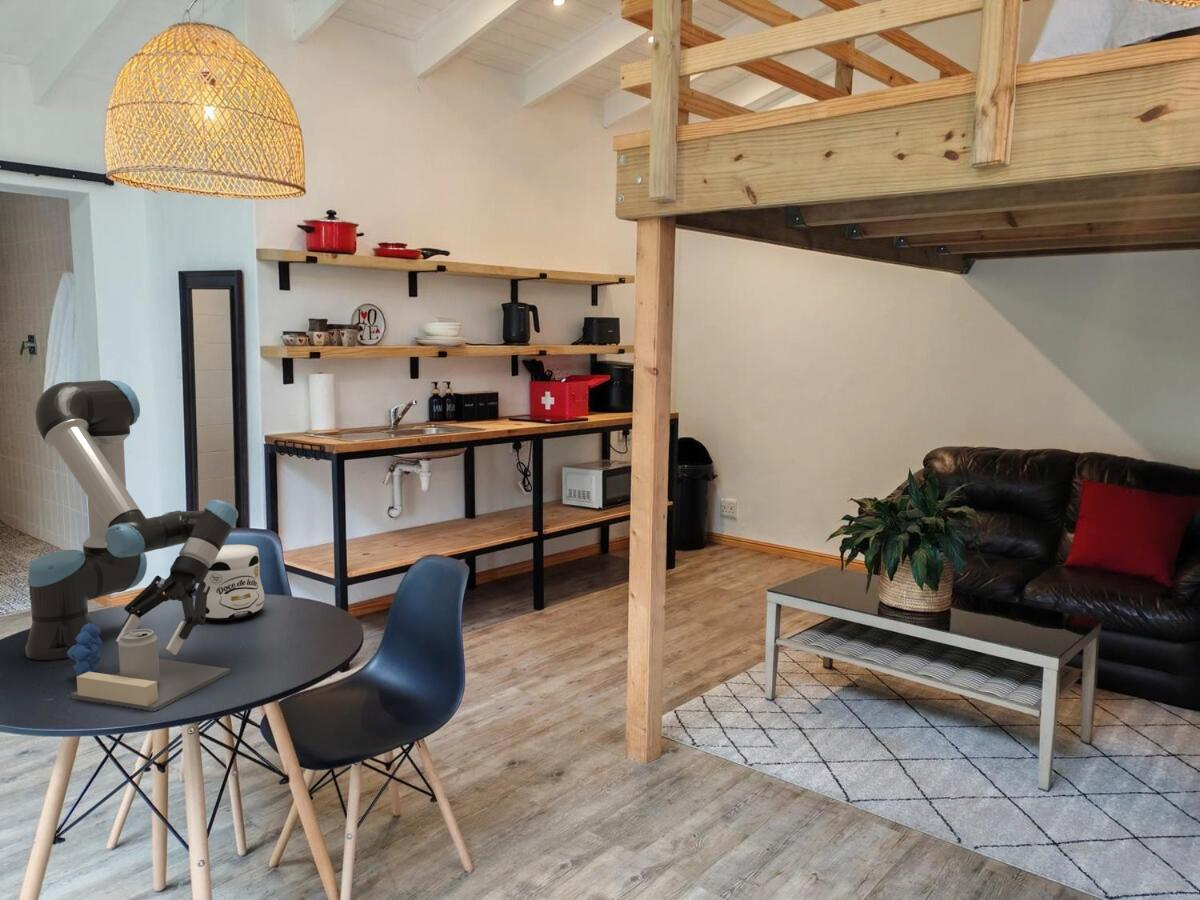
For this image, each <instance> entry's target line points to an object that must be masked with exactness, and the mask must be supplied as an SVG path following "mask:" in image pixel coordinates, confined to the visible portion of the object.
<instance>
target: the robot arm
mask: <svg viewBox="0 0 1200 900" xmlns="http://www.w3.org/2000/svg"><path fill="white" fill-rule="evenodd" d="M140 413H141V405H140V402H139V399H138V396H137V394H136V392H135V391H134V390H133V389H132V387H130V385H128V384H127V383H125V382H123V381H120V380H107V379H105V380H104V379H102V380H101V379H100V380H87V381H73V382H72V381H65V382H60V383H56V384H53V385H52V386H50V387H48V388H47V389H46V390H45V391H44V392H43V393H42V394H41V395H40V397H39V398H38V401H37V404H36V406H35V413H34V414H35V415H34V417H35V424H36V427H37V430H38V432H39V434H40V435H41V437H42V439H43V441H44V442H45V443H46V444H47V445H48V446H50V447H54V448H55V450H56V451H57V453H58V454H59V456H60V457H61V458H62V460H63V462H64V463H65V465H66V467H67V468H68V469H69V471H70V472H71V473H72V476H73V477H74V478H75V480H76V482H77V483H78V484H79V486H80V487H81V489H82V490H83V492H84V494H85V495H86V496H87V497H86V498H87V512H88V513H87V514H88V517H87V518H88V534H89V536H88V537H87V538H86V539H85V540H84V541H83V542H82V548H83V549H82V550H80V549H65V550H61V551H54V552H51V553H47V554H44V555H41V556H39V557H37V558H35V559H34V560H33V561H31V563H30V565H29V566H28V577H27V583H28V585H29V586H28V587H29V598H30V610H31V627H30V630H29V635H28V638H27V641H26V643H25V648H24V649H25V656H26V657H27V658H28V659H31V660H36V661H51V660H52V661H53V660H61V659H67V658H68V659H69V658H70V657H69V656H68V654H67V652H68V650H69V649H70V648H71V647H72V646H74V645H77V644H78V642H77V641H76V637H77V636H78V634H79V633H80V632H81V631H80V630H81V629H82V628H83V626H84V625H85V624H87V623H91V624H93V622H92V619H91V617H90V615H89V605H88V604H89V602H88V601H92V600H95V599H99V598H101V597H105V596H109V595H112V594H116V593H117V594H118V593H122V592H125V591H127V590H129V589H131V588H134V587H137V586H138V585H139V584H140V583H141V582H142V580H143V579H144V577H145V576H146V573H147V567H148V561H147V555H146V553H148V552H152V551H156V550H161V549H165V548H169V547H174V546H177V545H182V544H183V546H182V547H181V549H180V551H179V552H178V555H179V556H177V557H176V558H175V560H174V561H173V563H172V565H171V566H170V569H169V576H168V577H167V578H163V577H162V576H160V575H156V576H155V577H154V578H153V580H152V581H151V582H150V584H149V585H147V586H146V587H145V588H144V589H143V590H142V591H141V592H140V593H139V594H138V595H136V596H135V597H134V598H133V599H132V600H131V601H130V602H128V603H127V604H126V605H125V606H124V609H123V610H124V611H125V612H126V613H128V616H127V618H126V620H125V621H124V623H123V625H122V629H121V631H120V632H119V635H118V637H117V638H116V640H115V642H116V643H118V642H119V641H120V640H121V638H122V637H121V635H122V634H123V633H125V632H128V631H131V630H137V629H138V627H139V626H140V624H141V622H142V619H141V618H142V617H143V616H145V615H146V614H148V613H149V612H151V611H152V610H153V609H155V608H156V607H158V606H159V605H161V604H162V603H164V602H169V601H170V600H171V601H179V602H181V604H182V610H183V615H184V618H183V620H181V621H180V623H179V625H178V626H177V628H176V630H175V632H174V634H173V635H172V636H171V639H170V641H169V643H168V644H167V646H166V648H165V650H167V651H168V652H169V653H171V654H172V655H175V656H176V655H177V654H178V653H179V651H180V648H181V647H182V645H183V643H184V641H185V640H188V638H189V636H190V634H191V632H192V631H193V628H195V627H196V626H198V625H200V626H203V625H204V624H205V623H206V618H205V616H206V604H207V595H208V592H209V590H210V586H208V585H207V584H206V583H205V582H204V579H205V577H206V575H207V574H208V572H209V569H208V568H210V567H211V566H212V564H213V562H214V561H215V559H216V557H217V555H218V553H219V551H220V550H221V548H222V546H223V545H225V542H226V540H227V539H228V537H229V535H230V534H231V533H232V531H233V529H234V526H235V524H236V522H237V520H238V518H239V511H238V510H237V508H236V507H234V506H233V505H232V504H231V503H228V502H227V501H224V500H221V499H212V500H210V501H209V502H208V503H207V505H205V507H204V509H203V510H193V511H192V510H191V511H190V510H189V511H188V510H187V511H184V510H175V511H167V512H164V513H163V514H162V515H160V516H159V515H158V516H154V517H153V516H152V517H149V518H148V517H146V516H145V514H144V513H143V512H142V510H141V509H140V507H139V505H138V504H137V503H136V502H135V500H134V498H133V497H132V495H131V493H130V492H129V491H128V489H127V485H126V484H127V483H126V482H127V481H126V464H125V462H126V461H125V440H126V439H127V438H128V437H129V436H130V435H131V426H133V425H134V424H136V422H137V421H138V419H139V418H140V415H141V414H140ZM194 593H195V597H194V596H193V594H194ZM194 598H195V599H194Z"/></svg>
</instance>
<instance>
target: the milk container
mask: <svg viewBox="0 0 1200 900" xmlns="http://www.w3.org/2000/svg"><path fill="white" fill-rule="evenodd" d="M260 565H261V564H260V554H259V548H258V547H257V546H254V545H251V544H224V545H223V546H222V548H221V550H220V551H219V553H218V555H217V557H216V559H215V561H214V562H213V564H212V566H211V567H210V568H208V569H209V572H208V574H207V575H206V577H205V579H204V582H205V583H206V584H207V585H208V586H210V590H209V592H208V595H207V604H206V616H205V619H207V620H211V621H231V620H239V619H245V618H248V617H250V616H253V615H255V614H257V613H258V612H260V611H261V610H262V609H263V606H264V603H265V590H264V586H263V583H262V580H261V573H260V571H261V570H260V568H261V567H260Z"/></svg>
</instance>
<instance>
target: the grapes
mask: <svg viewBox="0 0 1200 900" xmlns="http://www.w3.org/2000/svg"><path fill="white" fill-rule="evenodd" d="M80 631H81V632H80V633H79V634H78V636H77V637H76V641H77V642H78V644H77V645H74V646H72V647H71V648H70V649H69V650H68V652H67V654H68V656H69V657H68V658H70V659H71V660H73V661H75V662H76V663H75V664H74V665H73V669H74V671H75V673H76V676H79V675H82V674H84V673H86V672H95V673H98V670H99V668H98V666H97V664H98V663H99V662H100V661H101V659H102V658H103V657H102V655H101V654H100V651H101V649H100V647H102V645H103V644H104V643H103V641H102V639H101V638H100V637H99V636H100V634H101V632H102V631H101V630H100V628H99V627H98V626H97V625H94V623H92V624H91V623H87V624H85V625H84V626H83V628H82V629H81V630H80Z"/></svg>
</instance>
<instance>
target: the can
mask: <svg viewBox="0 0 1200 900" xmlns="http://www.w3.org/2000/svg"><path fill="white" fill-rule="evenodd" d="M154 632H155V631H154V630H153V629H149V628H139V629H138V628H137V629H136V630H131V631H128V632H125V633H123V634H122V635H121V637H122V638H121V640H120V641H119V642H117V643H118V644H117V647H118V662H119V672H120V676H122V677H129V678H136V679H142V680H149V681H156V682H157V683H158V682H159V681H160V673H159V659H160V658H159V642H158V636H157V635H156V634H155V633H154Z"/></svg>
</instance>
